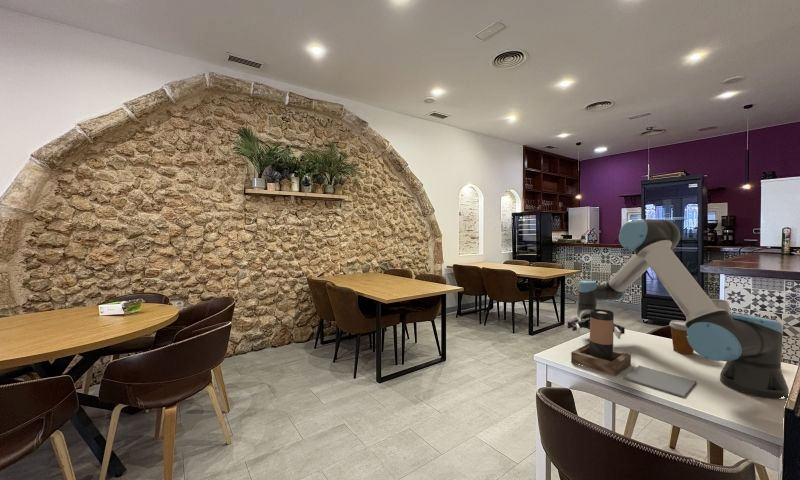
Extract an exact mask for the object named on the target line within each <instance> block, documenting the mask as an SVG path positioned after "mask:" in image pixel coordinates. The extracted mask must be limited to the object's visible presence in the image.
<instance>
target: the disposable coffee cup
mask: <svg viewBox="0 0 800 480" xmlns="http://www.w3.org/2000/svg"><path fill="white" fill-rule="evenodd" d="M685 322H686V320H678V319H677V320H675V319H673V320H670V322H669V324H668V325H669V326H670V334H671V339H672V349H673V352H676V353H679V354H683V355H693V354H694V352H695V351H694V350H693V349H692V347H691V346H690V345H689V343H688V340H687V336H688V334H687V330H688V328H687V327H686V325H685Z"/></svg>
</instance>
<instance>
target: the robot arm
mask: <svg viewBox="0 0 800 480" xmlns="http://www.w3.org/2000/svg"><path fill="white" fill-rule="evenodd" d="M680 239H681V232H680V229H679V227H678V226H677V225H676V223H674V222H673V221H670V220H667V219H660V218H659V219H647V218H646V219H644V218H636V219H630V220H628V221H626V222H625V223H624V224H623V225H622V226H621V227H620V229H619V234H618V240H619V244H620V245H621V246H622V247H623V248H624V249H626V250H629V251H633V252H634V254H633V255H632V256H631V257H630V258H629V259H628V260H627V261H626V262H625V263H624V264H623V265H622V266H621V267H620V269H618V271H617V272H615V274H614V275H613V276H611V277H610V278H609V280H608V281H606V283H603V284H598V283H597V282H596V281H594V280H580V281H579V282H578V289H577V292H578V293H577V294H578V301H577V304H578V306H577V310H576V315H577V317H578V318H577V317H574V318H573V319H571V320H569V321H567V327H566V328H567V329H571V331H573V332H576V334H577V335H581V333H580V332H581V330H580V329H582V328H584V329H587V330H589V331H590V313H591V312H590V311H593V310H594V309H597V302H599V301H617V300H623V298H624V297H625V296H626V295H625V294H626V289H628V288H629V287H630V286H631V285H633V283H634V282H636V280H637V279H639V278H640V277H641V276H642V275H644V273H645V272H646V271H647V270H648V269H649V268H650V269H651V270H652V271H653V272H654V274H655V275H656V277H657V278H658V280H659V281H660V282H661V284H662V286H663V287H664V288H665V290H666V291H667V292H668V294H669V296H670V297H671V298H672V300H673V301H674V302H675V303H676V305H677V307H678V308H679V310H680V311H681V312H682V313H683V314H684V316H685V318H686V320H685V321H686V322H685V325H686V327H687V328H688V330H687V334H688V336H687V340H688V343H689V345H690V346H691V347H692V349H693V350H694V352H695V353H696V354H698V355H699V356H701V357H703V358H704V359H707V360H710V361H715V362H725V364H724V366H723V367H722V369H721V371H720V374H719V381H720V382H721V383H722V384H723V385H725V386H726V387H728V388H730V389H733V390H735V391H738V392H741V393H744V394H746V395H747V394H748V395H750V396H755V397H759V398H763V399H764V398H765V399H770V400H771V399H772V400H773V399H774V400H780V399H779V398H781V397H783V396H784V397H785V399H787V397H788V398H789V396H788V394H789V393H790V391H789V386H788V385H787V381H786V379H785V377H784V374H783V372H782V352H783V351H782V350H783V336H784V332H783V324H782V323H781V322H779V321H778V320H774V319H772V318H771V319H770V318H765V317H761V316H756V315H749V314H742V313H735V312H734V313H731V314H729V313H728V312H727V311H726V310H724V309H720V308H717V307H716V306H715V305H714V303H713V302H712V301H711V299H712V298H710V297H709V296H708V294H707V293H706V292H705V291H704V290H703V288H702V287H701V285H700V284H699V283H698V281H696V279H695V278H694V277H693V275H692V274H691V273H690V271H689V270H688V269H687V268H686V267H685V265H684V264H683V263H682V262H681V259H679V258H678V257H677V255H676V254H675V252H674V251H673V250H674V249H675V248H676V247H677V245H678V244H679V242H680ZM625 329H626V328H625V327H624V326H622V325H619V324H617V323H614V324H613V335H614V336H616V338H617V339H619V340H621V336H622V335H624V334H625ZM789 395H790V394H789Z"/></svg>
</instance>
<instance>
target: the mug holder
mask: <svg viewBox="0 0 800 480" xmlns="http://www.w3.org/2000/svg"><path fill="white" fill-rule="evenodd" d="M570 356H571V359H570V360H571V361H570V363H572V362H574V363H573V364H575V363H577V364H576V365H578V364H580V365H579V366H581V365H583V366H582V367H584V366H586V367H585V368H588V367H589V368H588V369H591V368H592V370H595V371H597V372H601V373H604V374H607V375H611V376H614V377H616V376H618V375H620V373H622V372H623V371H625V370H626V369H627V368H629V367H630V366H631V365H632V354H631V353H630V354H629V353H626V352H622V351H618V350H614V349H613V355H612V361H608V360H604V359H601V358H597V357H594V356H590V343H587V344H586V345H585V344H584V345H583V346H581V347H579V348H576V349H574V350H573V351H571V352H570Z"/></svg>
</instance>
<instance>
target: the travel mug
mask: <svg viewBox="0 0 800 480" xmlns="http://www.w3.org/2000/svg"><path fill="white" fill-rule="evenodd" d="M590 312H591V313H590V330H589V344H590V356H594V357H597V358H601V359H604V360H608V361H612V355H613V350H614V332H613V324H615V323H614V319H615V318H614V315H615V314H614V311H611V310H607V309H601V308H596V309H594V310H593V311H590Z"/></svg>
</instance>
